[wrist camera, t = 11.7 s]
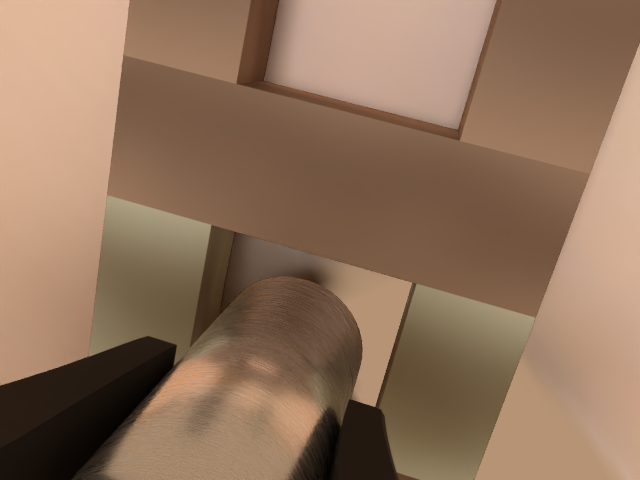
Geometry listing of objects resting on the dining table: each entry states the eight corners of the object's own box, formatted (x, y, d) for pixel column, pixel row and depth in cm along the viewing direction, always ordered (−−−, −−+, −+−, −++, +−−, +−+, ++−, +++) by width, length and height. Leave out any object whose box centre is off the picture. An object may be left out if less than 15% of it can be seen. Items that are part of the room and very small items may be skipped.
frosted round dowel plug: (343, 426, 15) (257, 728, 8) (211, 384, 15) (26, 638, 8) (378, 300, 13) (312, 527, 7) (234, 259, 14) (42, 435, 7)
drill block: (443, 506, 17) (443, 561, 15) (117, 398, 18) (78, 437, 16) (697, -189, 12) (746, -239, 10) (209, -276, 13) (169, -336, 11)
